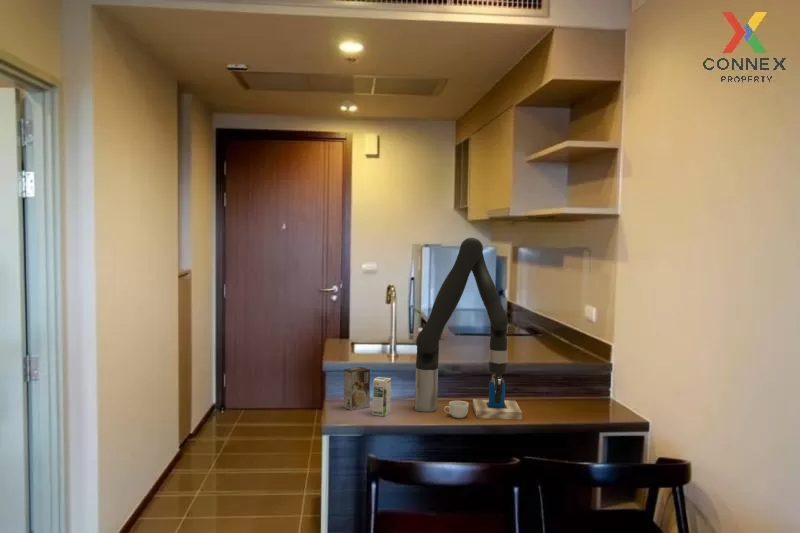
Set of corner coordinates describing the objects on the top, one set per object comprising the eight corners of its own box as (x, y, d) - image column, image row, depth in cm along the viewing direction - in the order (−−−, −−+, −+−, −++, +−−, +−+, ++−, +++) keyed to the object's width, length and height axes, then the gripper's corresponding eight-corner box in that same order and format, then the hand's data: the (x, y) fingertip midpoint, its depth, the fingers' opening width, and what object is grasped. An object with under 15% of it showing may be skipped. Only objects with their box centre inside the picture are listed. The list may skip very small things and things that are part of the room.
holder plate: (476, 417, 231) (476, 410, 231) (472, 406, 247) (473, 399, 247) (521, 419, 231) (521, 412, 230) (515, 407, 246) (515, 400, 246)
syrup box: (371, 415, 232) (372, 379, 231) (377, 411, 237) (378, 376, 237) (385, 416, 230) (386, 380, 229) (390, 412, 236) (391, 377, 235)
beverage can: (504, 412, 235) (505, 383, 234) (488, 410, 236) (489, 381, 236) (504, 407, 241) (505, 379, 241) (488, 406, 243) (489, 378, 242)
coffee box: (361, 403, 247) (361, 366, 247) (369, 407, 242) (370, 369, 242) (343, 407, 242) (343, 369, 241) (351, 410, 237) (352, 372, 236)
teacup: (464, 413, 237) (464, 400, 237) (471, 419, 230) (471, 405, 230) (441, 414, 235) (441, 401, 235) (446, 420, 228) (447, 406, 227)
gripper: (486, 356, 245) (485, 395, 246) (490, 364, 231) (489, 405, 232) (504, 357, 245) (503, 395, 246) (509, 364, 230) (508, 405, 231)
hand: (496, 400), depth 239 cm, fingers open, 6 cm apart
